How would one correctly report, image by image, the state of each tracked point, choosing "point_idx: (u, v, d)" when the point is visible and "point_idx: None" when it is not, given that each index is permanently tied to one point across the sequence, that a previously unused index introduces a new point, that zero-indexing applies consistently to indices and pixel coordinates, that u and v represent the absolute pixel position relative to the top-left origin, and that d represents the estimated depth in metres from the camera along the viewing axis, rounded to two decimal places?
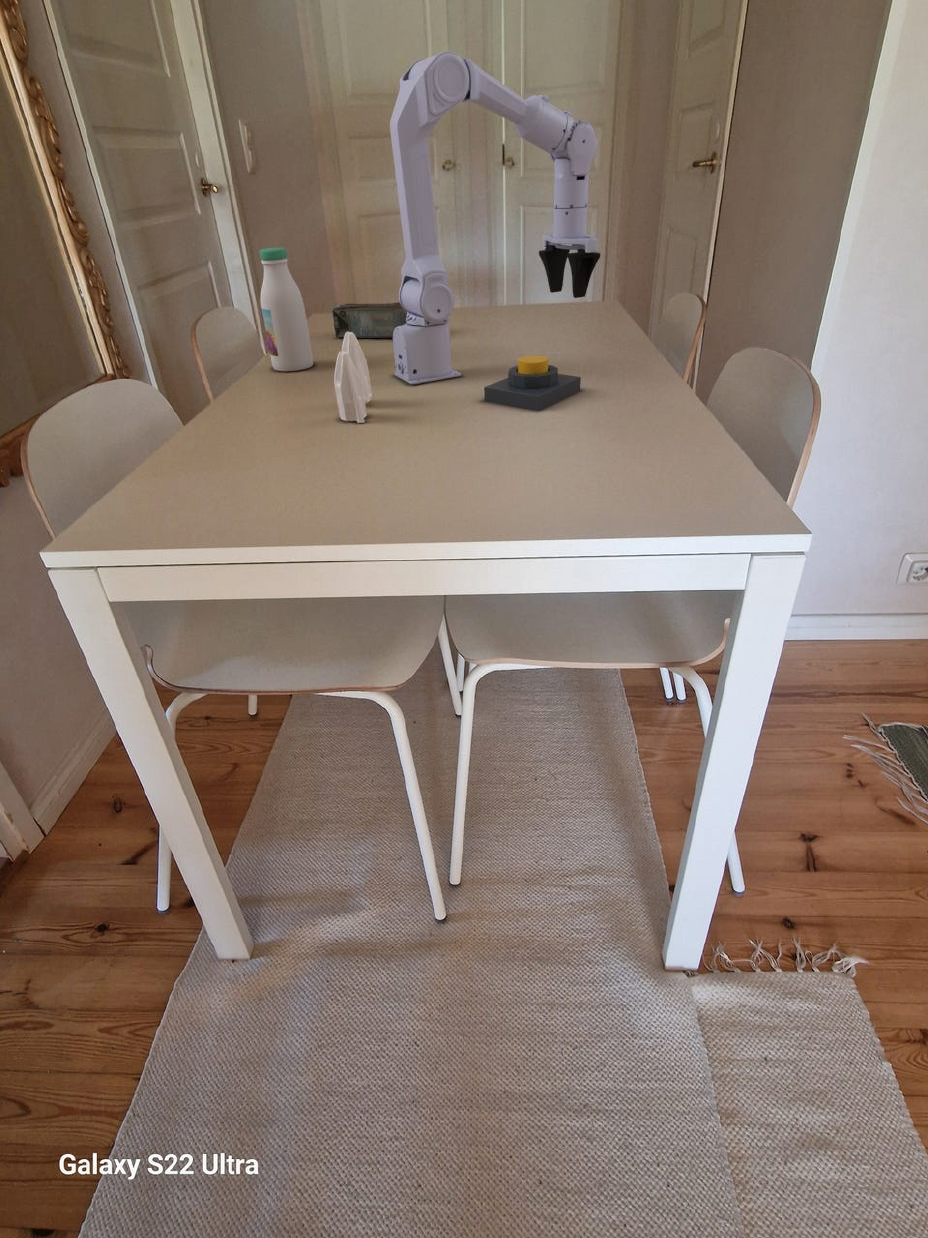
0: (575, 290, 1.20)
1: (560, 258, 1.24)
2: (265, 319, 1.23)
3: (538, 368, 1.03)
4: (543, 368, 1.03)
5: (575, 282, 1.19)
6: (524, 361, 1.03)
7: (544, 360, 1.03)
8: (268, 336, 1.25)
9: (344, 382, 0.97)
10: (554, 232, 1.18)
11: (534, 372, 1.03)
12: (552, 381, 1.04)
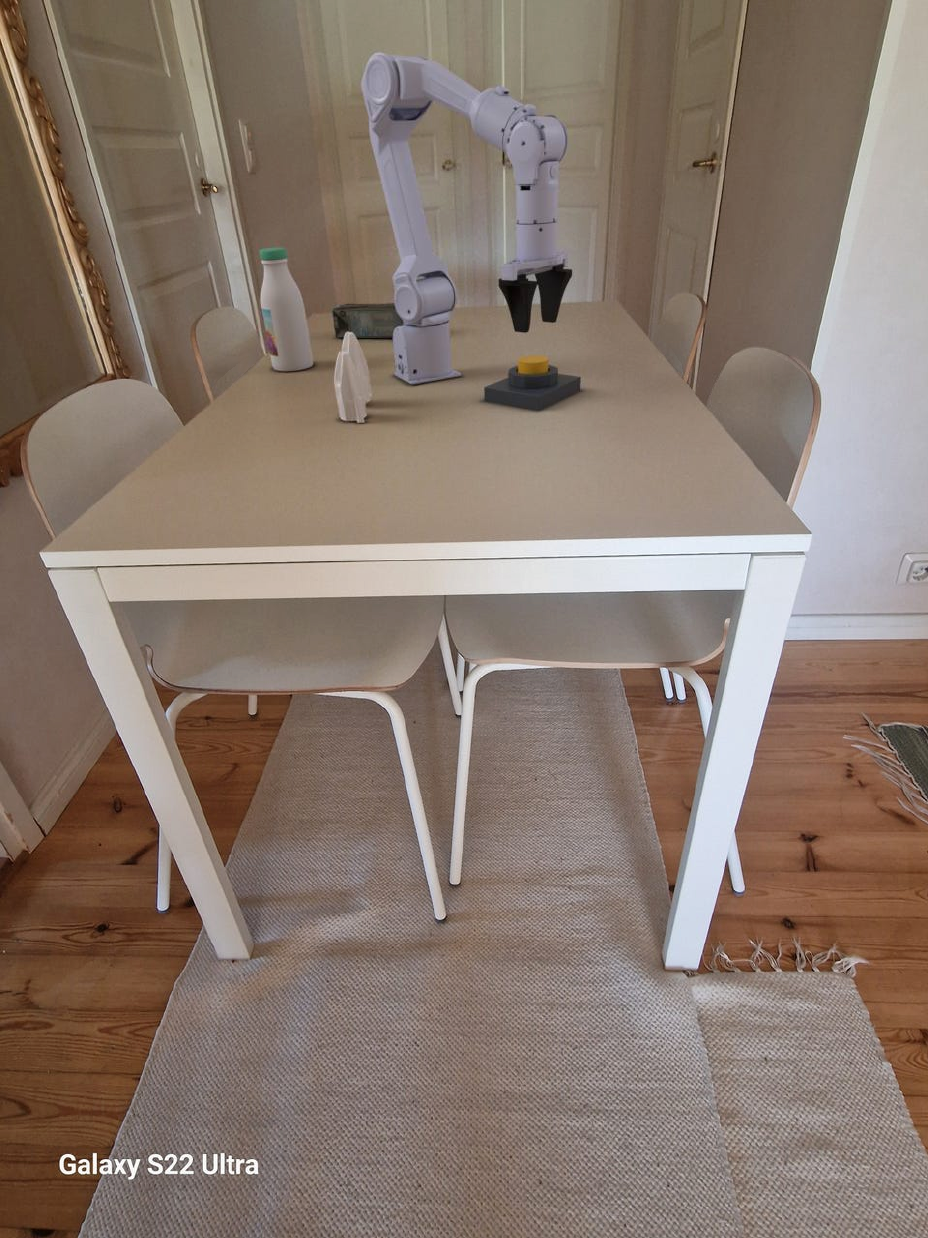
0: None
1: (553, 283, 1.02)
2: (265, 319, 1.23)
3: (538, 368, 1.03)
4: (543, 368, 1.03)
5: (510, 313, 0.99)
6: (524, 361, 1.03)
7: (544, 360, 1.03)
8: (268, 336, 1.25)
9: (344, 382, 0.97)
10: None
11: (534, 372, 1.03)
12: (552, 381, 1.04)
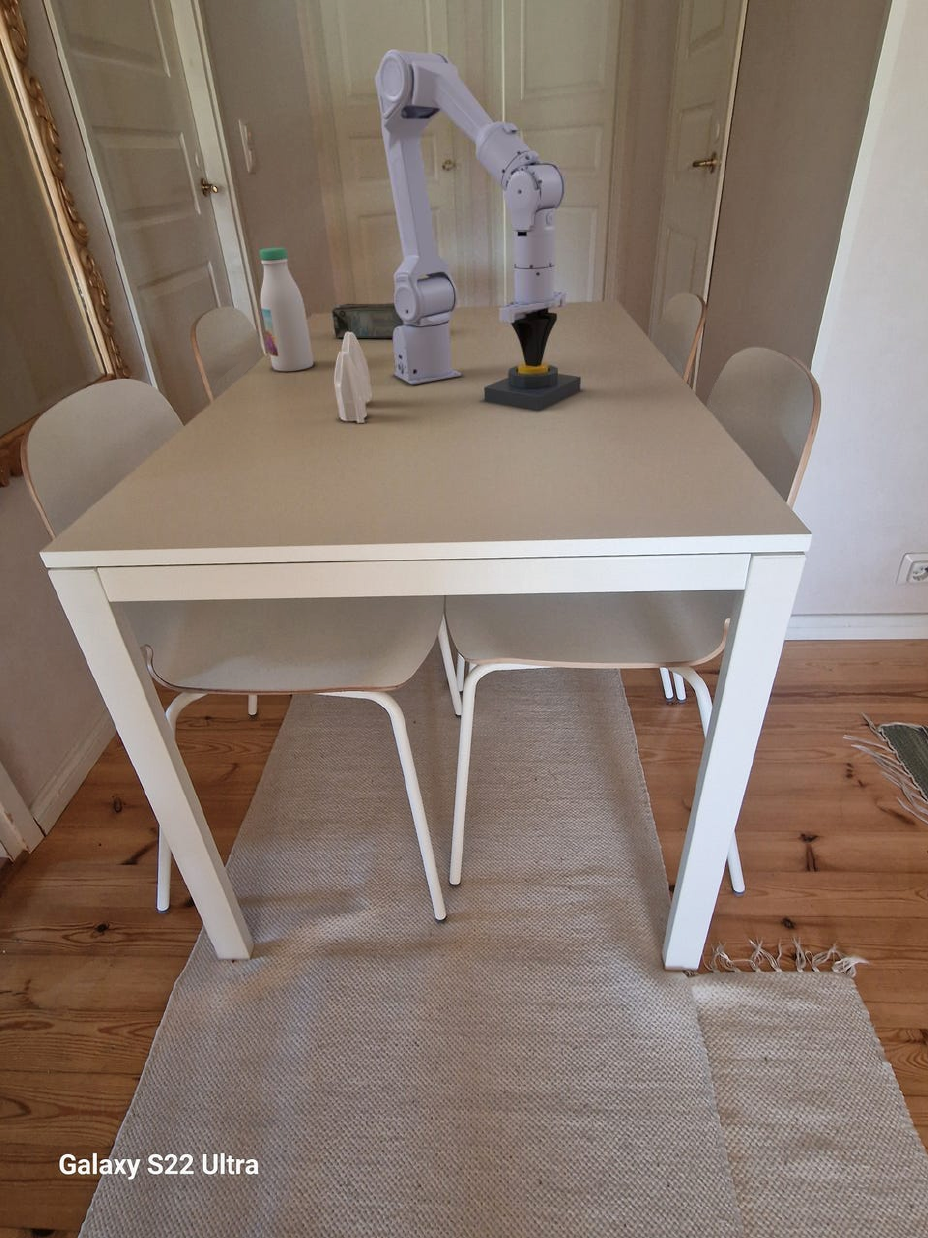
0: None
1: None
2: (265, 319, 1.23)
3: None
4: None
5: None
6: (524, 367, 1.04)
7: (544, 366, 1.04)
8: (268, 336, 1.25)
9: (344, 382, 0.97)
10: None
11: None
12: (552, 381, 1.04)
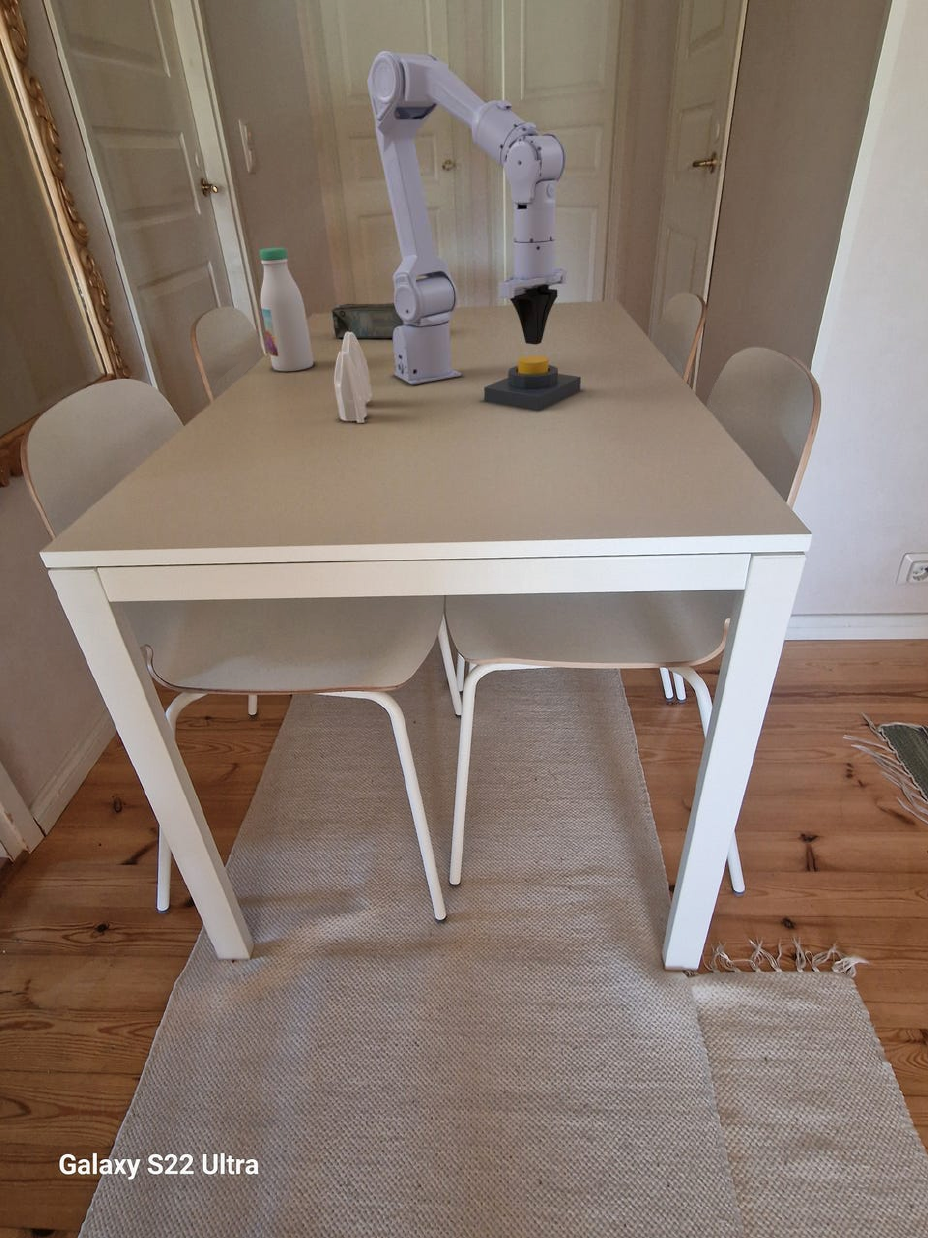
0: None
1: None
2: (265, 319, 1.23)
3: (538, 368, 1.03)
4: (543, 368, 1.03)
5: (521, 325, 1.02)
6: (524, 361, 1.03)
7: (544, 360, 1.03)
8: (268, 336, 1.25)
9: (344, 382, 0.97)
10: None
11: (534, 372, 1.03)
12: (552, 381, 1.04)
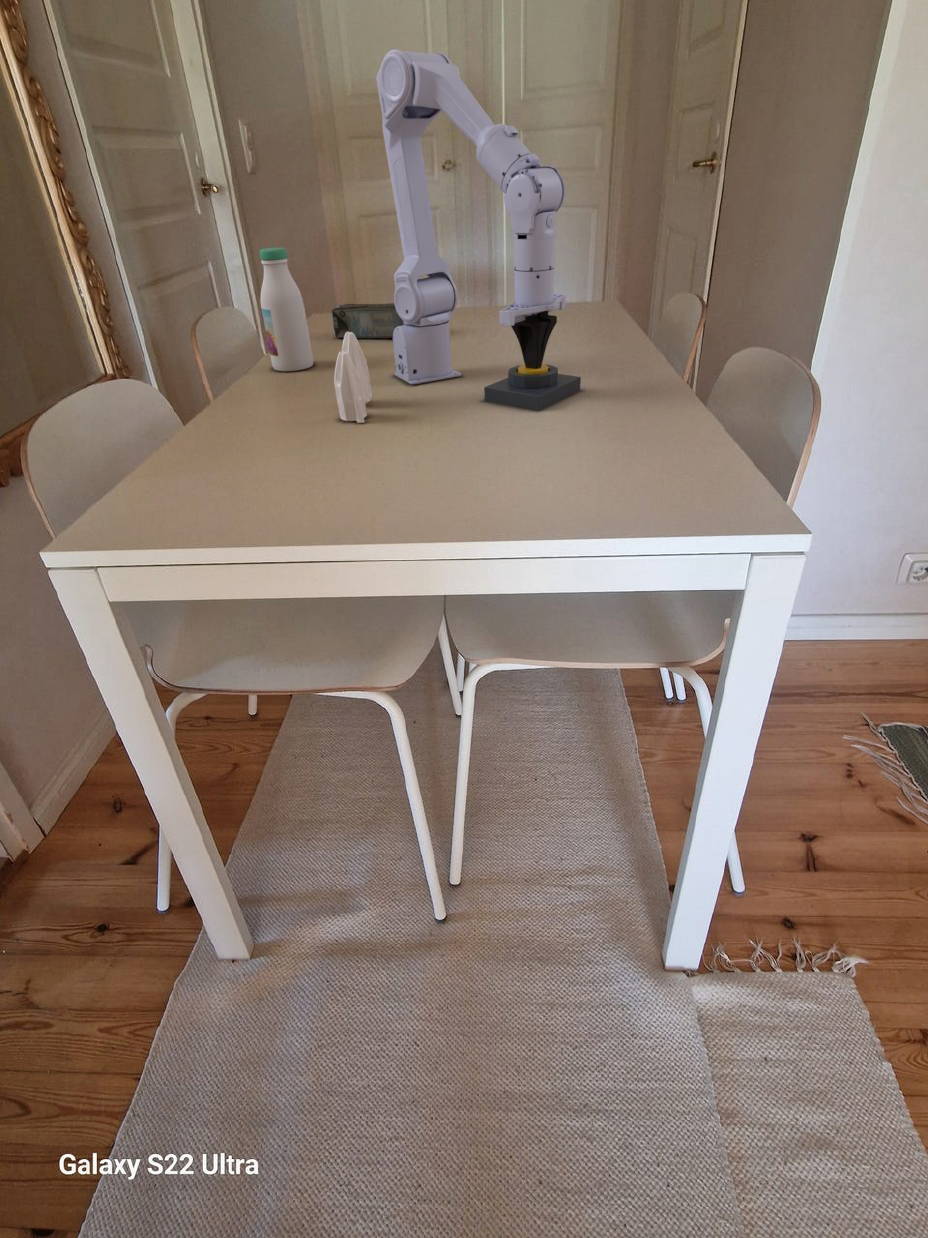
0: None
1: None
2: (265, 319, 1.23)
3: None
4: None
5: (521, 350, 1.04)
6: (524, 369, 1.04)
7: (544, 368, 1.04)
8: (268, 336, 1.25)
9: (344, 382, 0.97)
10: None
11: None
12: (552, 381, 1.04)
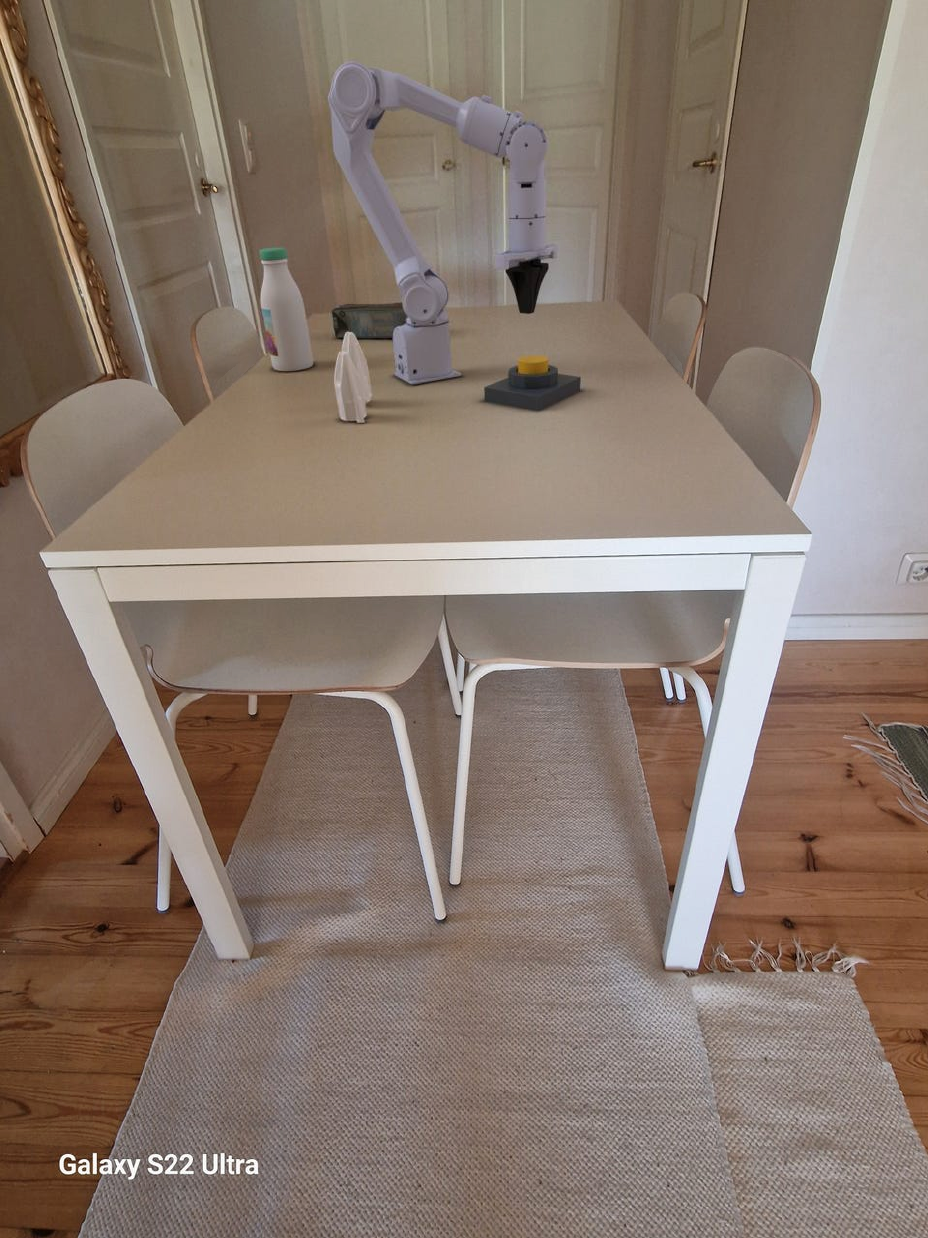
0: (518, 304, 1.12)
1: None
2: (265, 319, 1.23)
3: (538, 368, 1.03)
4: (543, 368, 1.03)
5: (516, 296, 1.11)
6: (524, 361, 1.03)
7: (544, 360, 1.03)
8: (268, 336, 1.25)
9: (344, 382, 0.97)
10: None
11: (534, 372, 1.03)
12: (552, 381, 1.04)
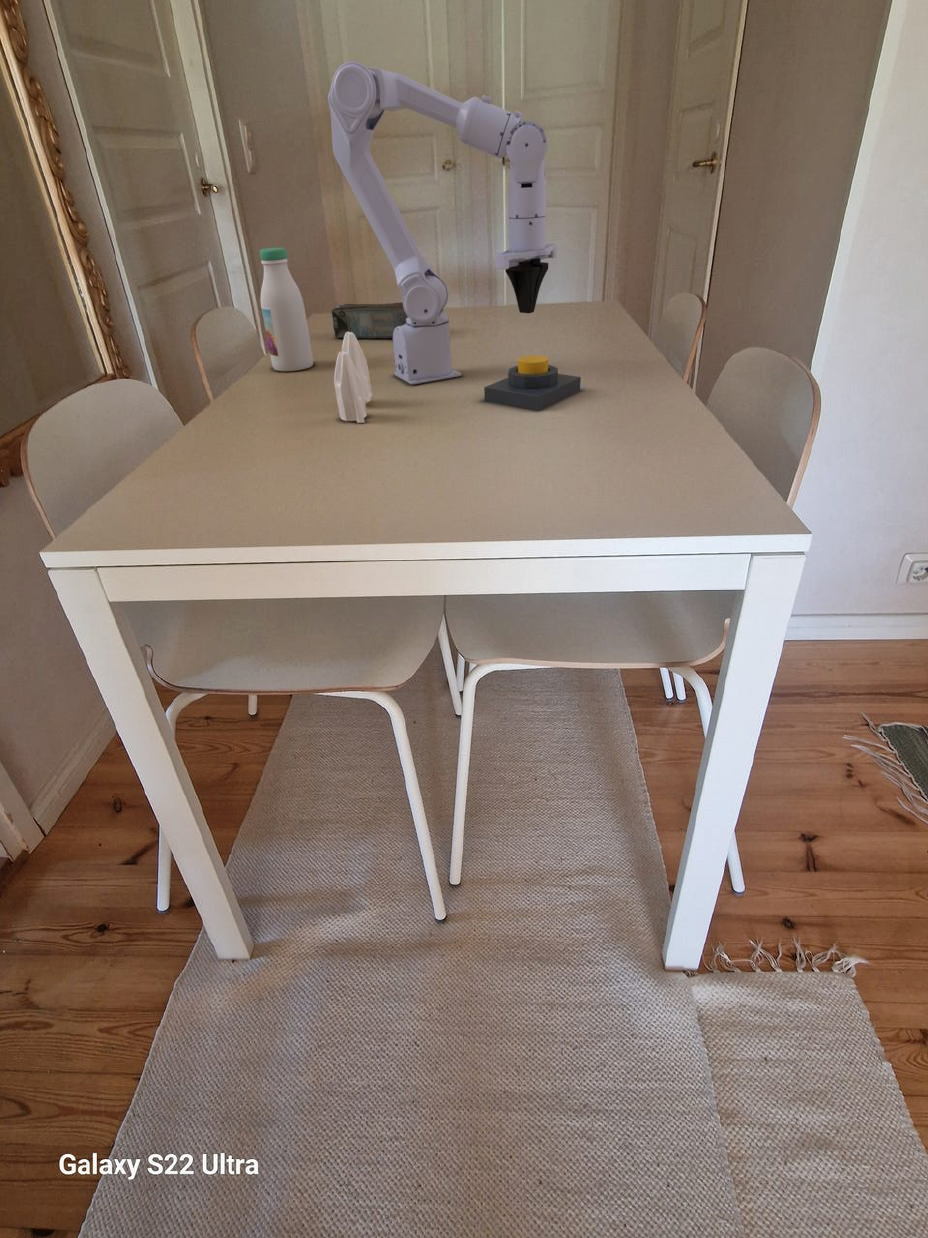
0: (518, 304, 1.13)
1: None
2: (265, 319, 1.23)
3: (538, 368, 1.03)
4: (543, 368, 1.03)
5: (516, 295, 1.12)
6: (524, 361, 1.03)
7: (544, 360, 1.03)
8: (268, 336, 1.25)
9: (344, 382, 0.97)
10: None
11: (534, 372, 1.03)
12: (552, 381, 1.04)
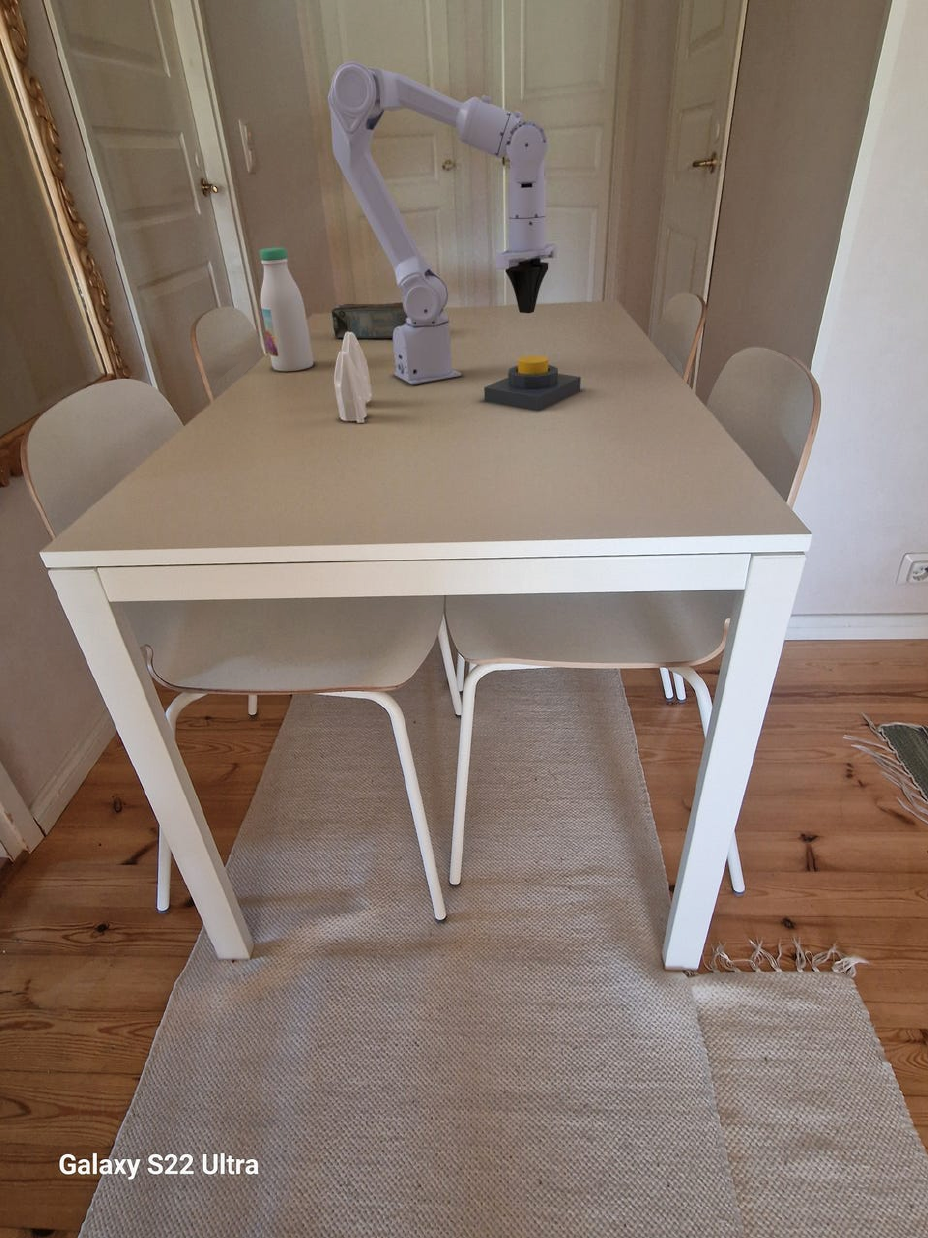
0: (518, 304, 1.13)
1: None
2: (265, 319, 1.23)
3: (538, 368, 1.03)
4: (543, 368, 1.03)
5: (516, 295, 1.12)
6: (524, 361, 1.03)
7: (544, 360, 1.03)
8: (268, 336, 1.25)
9: (344, 382, 0.97)
10: None
11: (534, 372, 1.03)
12: (552, 381, 1.04)
